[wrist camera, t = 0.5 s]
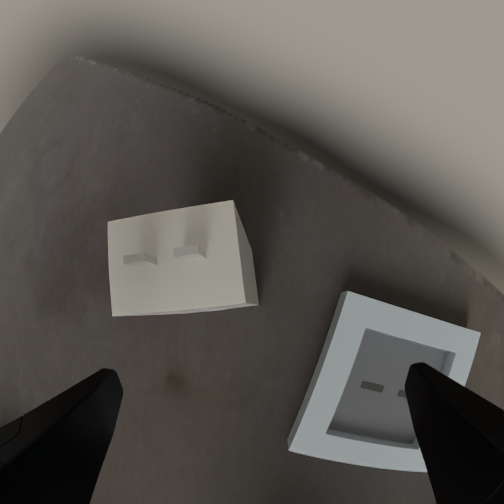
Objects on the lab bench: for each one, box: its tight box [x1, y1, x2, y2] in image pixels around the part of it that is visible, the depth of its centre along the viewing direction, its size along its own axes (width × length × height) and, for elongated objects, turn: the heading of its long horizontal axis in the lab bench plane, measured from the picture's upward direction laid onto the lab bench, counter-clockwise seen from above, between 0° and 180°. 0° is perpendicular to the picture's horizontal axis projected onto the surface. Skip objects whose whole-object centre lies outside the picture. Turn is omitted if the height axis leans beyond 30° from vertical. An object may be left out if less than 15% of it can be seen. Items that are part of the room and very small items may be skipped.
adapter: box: [108, 200, 259, 316], centre depth 17 cm, size 4×6×13 cm
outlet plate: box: [287, 291, 481, 472], centre depth 20 cm, size 12×12×2 cm
